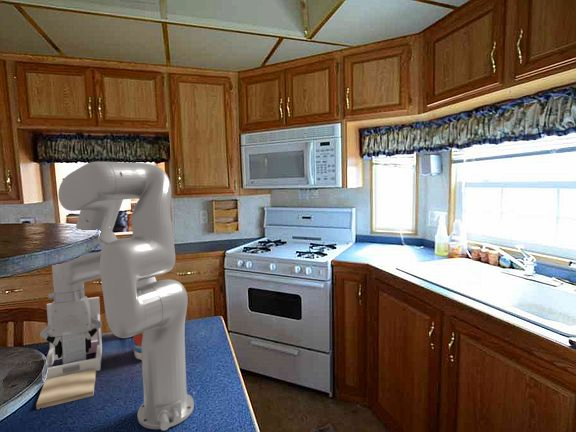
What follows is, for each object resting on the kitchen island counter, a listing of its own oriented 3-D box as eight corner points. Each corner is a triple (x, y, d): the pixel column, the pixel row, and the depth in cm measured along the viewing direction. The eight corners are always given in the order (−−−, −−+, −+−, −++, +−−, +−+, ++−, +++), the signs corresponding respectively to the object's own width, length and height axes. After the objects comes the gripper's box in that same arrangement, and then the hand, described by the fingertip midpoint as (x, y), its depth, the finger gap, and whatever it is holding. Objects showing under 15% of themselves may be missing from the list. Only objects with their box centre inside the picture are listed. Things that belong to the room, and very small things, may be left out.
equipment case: (100, 371, 100) (96, 312, 98) (41, 384, 94) (36, 322, 92) (102, 348, 114) (98, 296, 112) (51, 358, 108) (47, 303, 106)
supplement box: (87, 365, 103) (84, 328, 102) (63, 372, 100) (60, 334, 99) (84, 357, 108) (82, 322, 107) (62, 363, 104) (59, 327, 103)
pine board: (93, 395, 89) (93, 391, 88) (36, 409, 83) (36, 404, 83) (96, 372, 99) (95, 368, 99) (45, 383, 94) (45, 379, 94)
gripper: (30, 304, 95) (36, 366, 96) (102, 294, 102) (106, 352, 104) (36, 296, 101) (41, 354, 103) (103, 287, 109) (107, 342, 111)
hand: (74, 353), depth 103 cm, fingers closed on supplement box, 6 cm apart
